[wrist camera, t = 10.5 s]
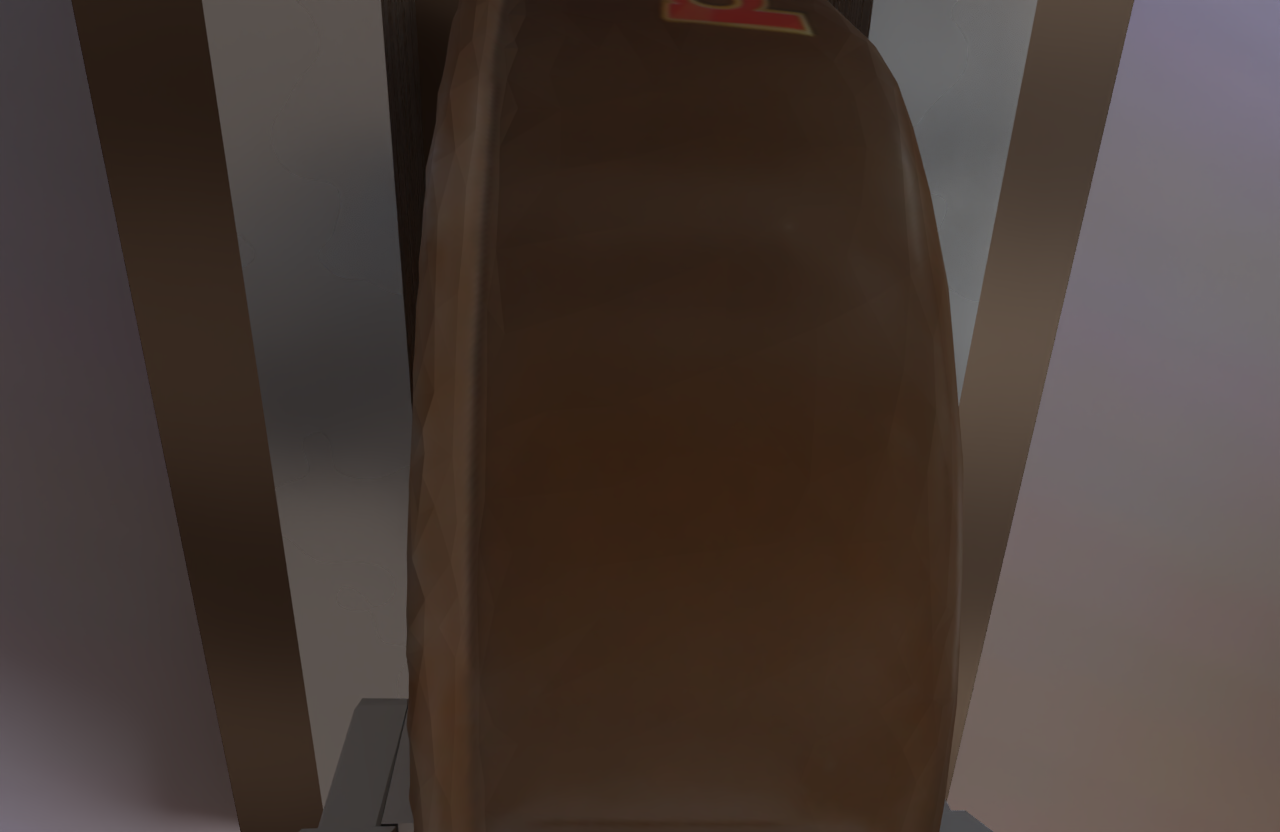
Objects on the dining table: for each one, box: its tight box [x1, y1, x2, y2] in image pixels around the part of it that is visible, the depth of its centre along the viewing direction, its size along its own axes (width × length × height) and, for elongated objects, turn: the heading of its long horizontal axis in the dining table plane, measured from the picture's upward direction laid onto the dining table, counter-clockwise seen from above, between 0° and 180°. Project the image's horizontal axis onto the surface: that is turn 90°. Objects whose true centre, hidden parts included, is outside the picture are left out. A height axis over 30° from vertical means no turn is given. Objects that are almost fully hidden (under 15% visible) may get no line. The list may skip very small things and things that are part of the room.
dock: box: [71, 0, 1134, 832], centre depth 14 cm, size 18×12×5 cm, turn 178°
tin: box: [406, 0, 964, 832], centre depth 9 cm, size 15×3×8 cm, turn 178°
